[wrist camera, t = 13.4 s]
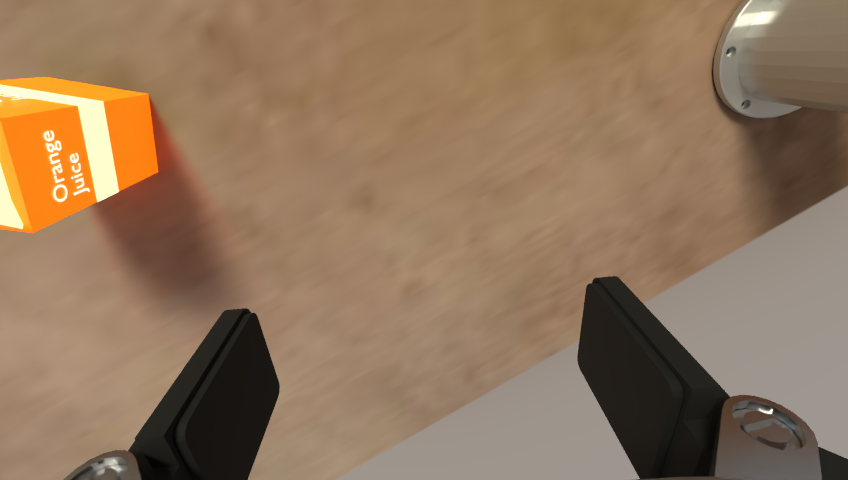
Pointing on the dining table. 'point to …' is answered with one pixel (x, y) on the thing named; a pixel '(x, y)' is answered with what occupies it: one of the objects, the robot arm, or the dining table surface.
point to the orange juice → (68, 148)
